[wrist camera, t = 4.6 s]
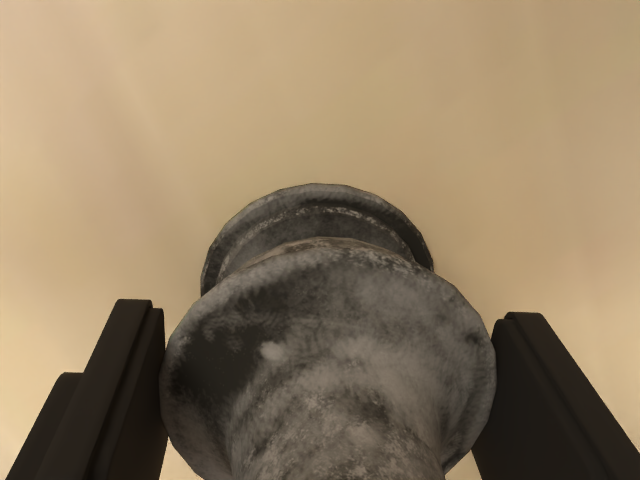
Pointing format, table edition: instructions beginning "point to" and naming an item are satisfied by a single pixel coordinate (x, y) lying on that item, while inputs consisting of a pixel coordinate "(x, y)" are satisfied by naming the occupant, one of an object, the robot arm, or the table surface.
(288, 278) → the salt shaker
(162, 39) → the table surface
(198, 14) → the table surface
